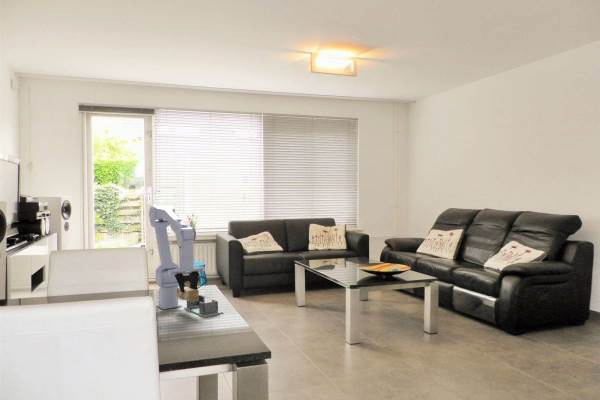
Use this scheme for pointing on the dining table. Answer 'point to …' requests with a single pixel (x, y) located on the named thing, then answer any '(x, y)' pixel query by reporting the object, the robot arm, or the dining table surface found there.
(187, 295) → the rail
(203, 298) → the bracket
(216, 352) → the dining table surface
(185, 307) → the board
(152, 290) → the dining table surface
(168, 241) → the robot arm
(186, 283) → the coffee mug
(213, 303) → the bracket
